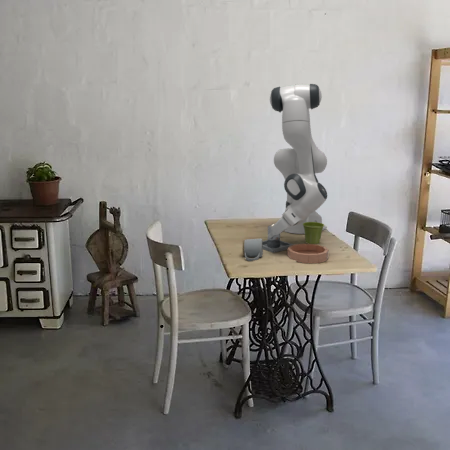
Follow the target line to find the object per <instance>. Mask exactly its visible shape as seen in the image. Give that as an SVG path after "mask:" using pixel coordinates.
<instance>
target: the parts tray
mask: <svg viewBox="0 0 450 450" xmlns="http://www.w3.org/2000/svg"><path fill="white" fill-rule="evenodd" d="M267 244H268V239H267V240H263V251H264V250H265V251H267V252H270V253H277V252H282V251H285V250H286V251H287V250H288V247H289V246H291V245H295V243H290V242H286V241H283V240H281V239H280V247H278V248H274V249H273V248H270V247H267Z"/></svg>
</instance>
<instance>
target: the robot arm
mask: <svg viewBox="0 0 450 450" xmlns="http://www.w3.org/2000/svg"><path fill="white" fill-rule="evenodd" d="M269 95H270V96H269V103H270V106H271V108H272V110H274V111H275V112H278V113H281V112H282V115H281V130H282V135H283V139H284V140H285V142H286V143H287V144H288V145H289V146H291V147H292V148H282V149H278V150H277V151H276V152H275V154H274V155H273V164H274V167H275V168H276V169H277V170H278V171H279V172H280V173H281V175H282V176H283V178H284V183H283V186H284V190H285V192H286V202H285V210H284V212H283V213H282V214H281V217H280V218H279V219H278V220H277V221H276V222H275V223H274V224H275V225H274V226H273V227H272V228H271V233H270V234H268V233H267V238H268V237H269V238H272V237H273V236H274V235H278V234H280V235H281V233H283V232H285V233H290V234H297V235H298V234H299V235H301V234H302V235H303V234H304V235H305V230H304V226H303V223H305V222H318V223H322V224H323V219H322V216H321V214H319V213H318V212H317V211H318V209H319V208H320V207H321V206H322V205H323V204H324V203H325V202H326V201H327V198H328V192H327V189H326V188H325V186H324V185H323V184H322V183H320V182H319V180H318V178H317V176H316V175H317V174H321V173H323V172H324V170H325V169H326V168H327V165H328V158H327V155H326V154H325V153H324V152H323V151H322V150H320V148H319V147H318V146H317V144H315V141H314V139H313V137H312V131H311V130H312V129H311V118H310V117H311V116H310V109H311V111H312V110H314V109H317V108H318V107H319V106H320V103H321V101H322V97H323V96H322V91H321V89H320V87H319V85H318V84H316V83H309V84H307V83H304V84H303V83H301V84H300V83H299V84H298V83H297V84H291V85H285V86H277V87H274V88H272V90H271V91H270V94H269ZM327 229H328V226H326V225H325V224H324V227H323V229H322V231H324V230H327Z"/></svg>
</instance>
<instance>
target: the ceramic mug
mask: <svg viewBox="0 0 450 450" xmlns="http://www.w3.org/2000/svg"><path fill="white" fill-rule="evenodd" d="M263 241H264V239H263V238H247V239H243V241H242V256H243V257H244V259H245V260H246V261H248V262H253V261H257V260H259V259H260V258H263V254H264V250H263ZM251 257H252V258H251Z"/></svg>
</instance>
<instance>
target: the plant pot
mask: <svg viewBox="0 0 450 450" xmlns="http://www.w3.org/2000/svg"><path fill="white" fill-rule="evenodd" d="M324 225H325V224H324V223H323V222H322V223H318V222H305V223H303V226H304V230H305V234H304V240H305V244H307V243H308V244H317V245H319V244H320V243H321V237H322V232H323V230H322V229H323V227H324Z"/></svg>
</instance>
